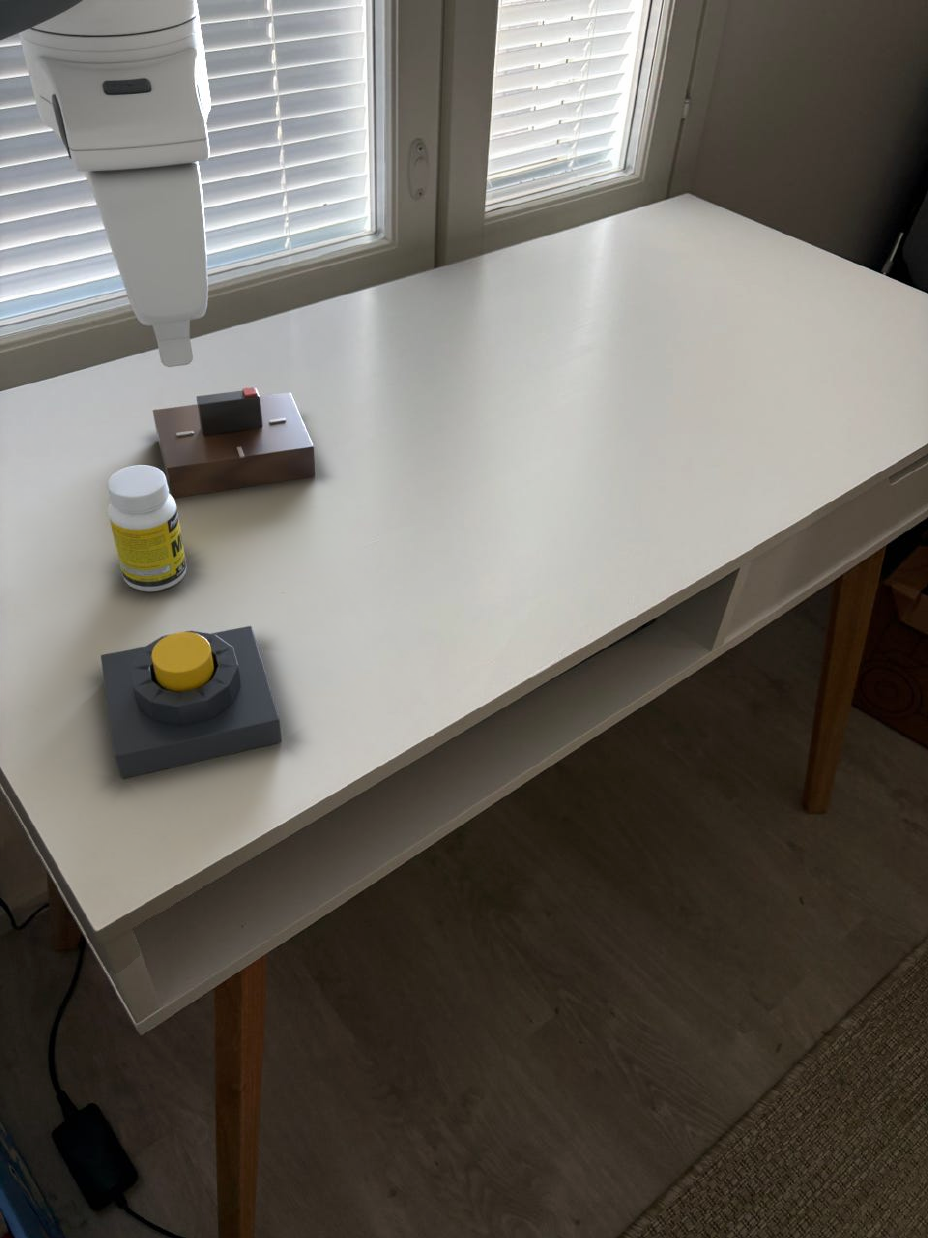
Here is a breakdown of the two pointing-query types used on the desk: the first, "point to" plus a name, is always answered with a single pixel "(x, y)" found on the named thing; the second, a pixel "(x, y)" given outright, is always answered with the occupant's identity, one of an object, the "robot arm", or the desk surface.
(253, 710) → the button block
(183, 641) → the trigger button
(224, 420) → the dial knob
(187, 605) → the desk surface
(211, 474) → the dial panel
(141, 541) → the supplement bottle
